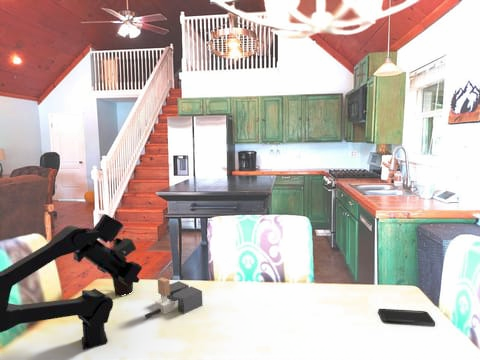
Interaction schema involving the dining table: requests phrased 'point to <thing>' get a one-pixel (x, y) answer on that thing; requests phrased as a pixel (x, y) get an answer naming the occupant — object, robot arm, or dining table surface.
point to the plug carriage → (163, 299)
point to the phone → (406, 317)
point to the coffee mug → (121, 287)
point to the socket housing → (185, 296)
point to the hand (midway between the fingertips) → (137, 280)
